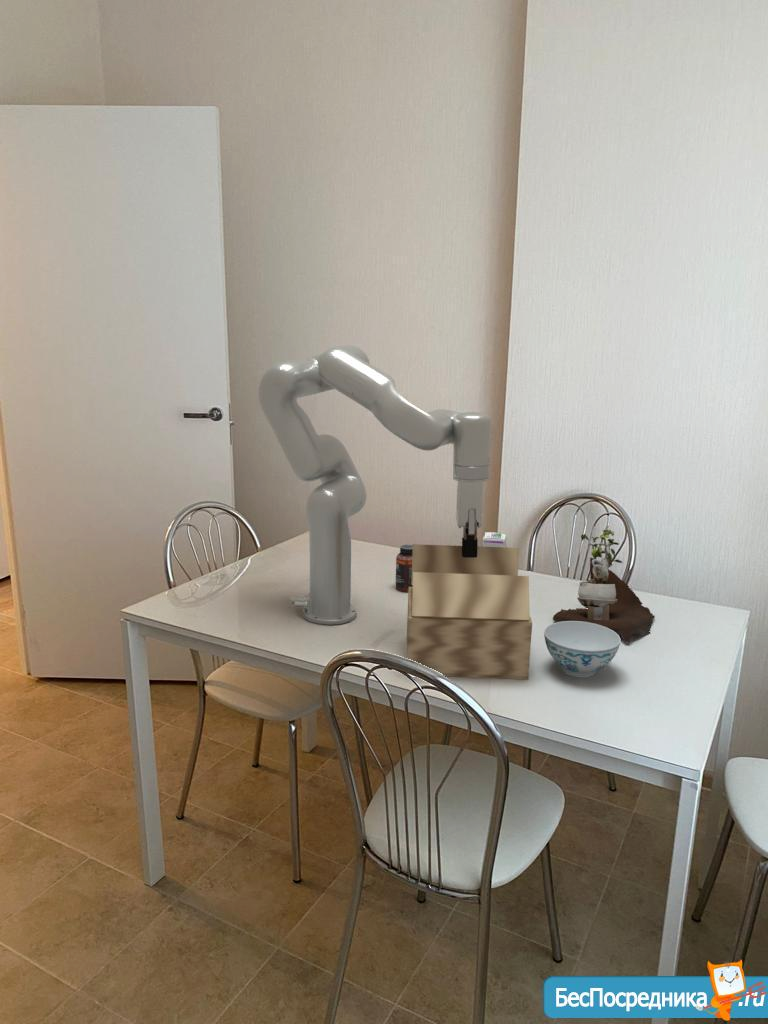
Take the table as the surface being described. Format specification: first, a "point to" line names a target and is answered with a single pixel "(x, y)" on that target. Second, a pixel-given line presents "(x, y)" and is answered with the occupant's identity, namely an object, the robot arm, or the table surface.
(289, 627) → the table surface
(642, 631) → the potted plant
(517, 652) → the carton
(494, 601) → the front flap
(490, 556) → the back flap
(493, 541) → the syrup box
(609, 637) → the chinaware
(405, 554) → the supplement bottle
